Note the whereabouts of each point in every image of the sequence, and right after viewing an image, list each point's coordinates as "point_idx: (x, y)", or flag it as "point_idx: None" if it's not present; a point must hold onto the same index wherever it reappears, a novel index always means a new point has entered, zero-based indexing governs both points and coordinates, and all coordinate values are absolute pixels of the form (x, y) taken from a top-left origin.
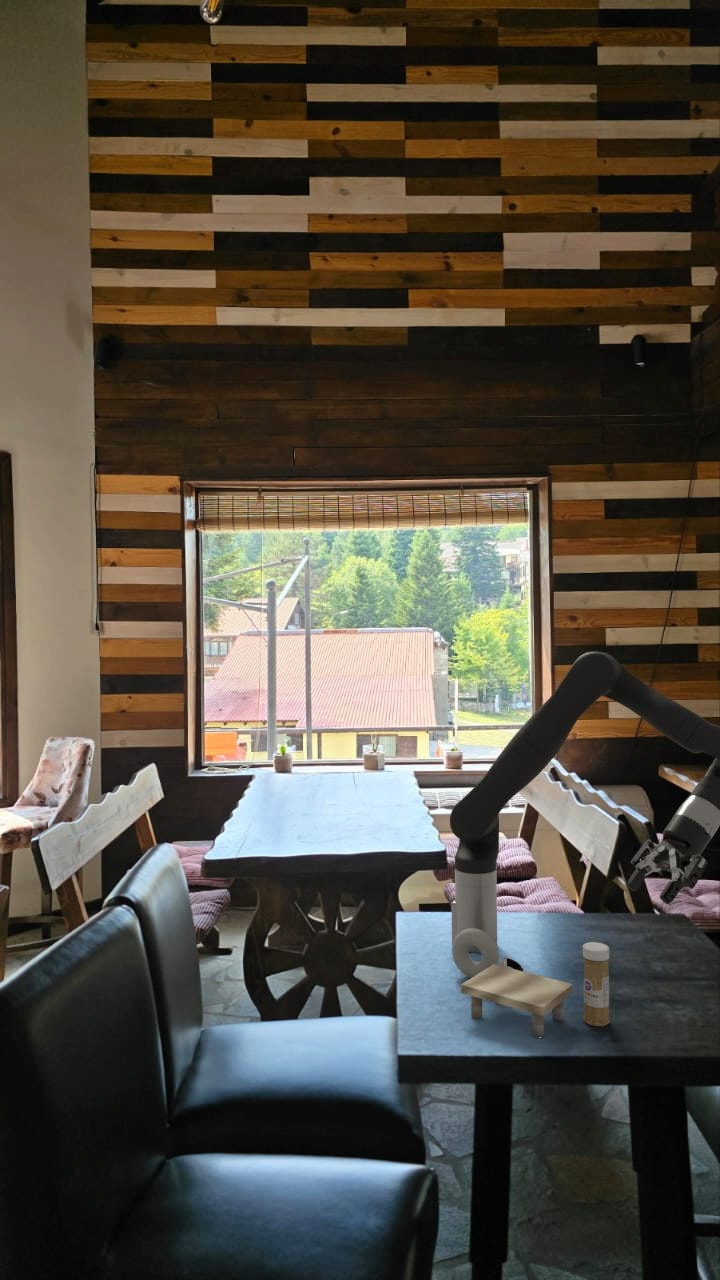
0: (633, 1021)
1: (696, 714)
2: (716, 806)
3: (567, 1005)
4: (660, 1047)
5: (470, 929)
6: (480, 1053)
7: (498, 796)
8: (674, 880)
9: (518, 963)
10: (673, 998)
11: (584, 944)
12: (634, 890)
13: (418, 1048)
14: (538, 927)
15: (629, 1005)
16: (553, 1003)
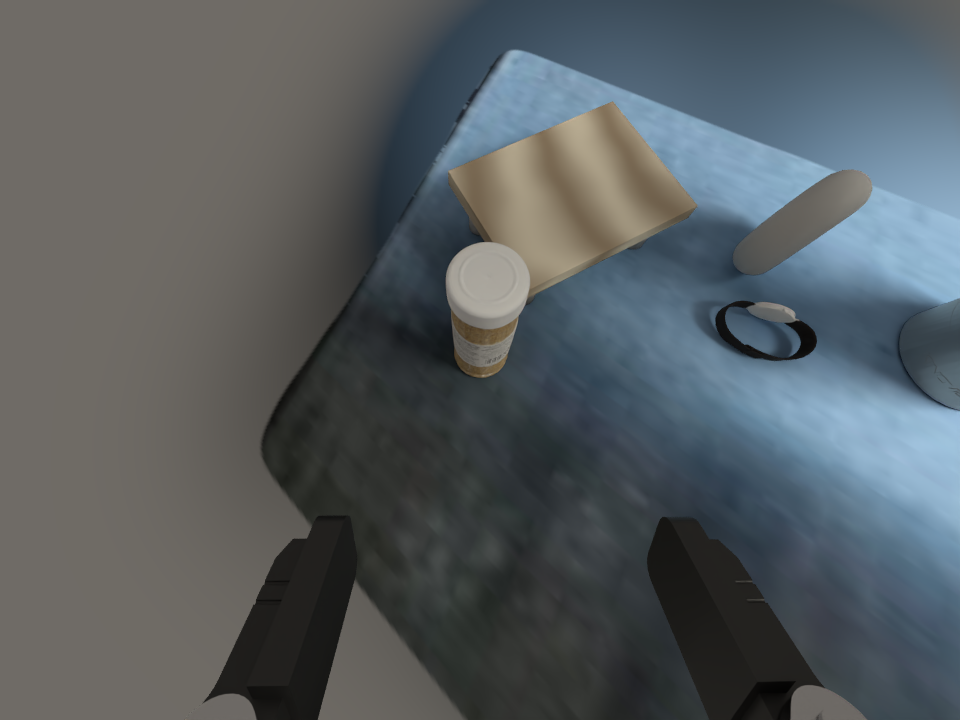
0: (448, 424)
1: None
2: None
3: (570, 348)
4: (334, 392)
5: (854, 176)
6: (467, 123)
7: None
8: (210, 699)
9: (788, 358)
10: (506, 615)
11: (517, 256)
12: (652, 560)
13: (521, 63)
14: None
15: (517, 474)
16: (471, 213)
